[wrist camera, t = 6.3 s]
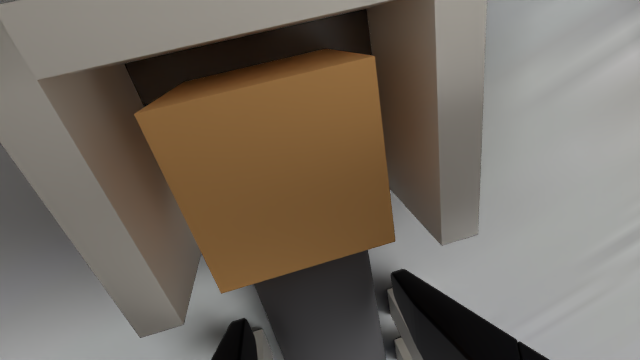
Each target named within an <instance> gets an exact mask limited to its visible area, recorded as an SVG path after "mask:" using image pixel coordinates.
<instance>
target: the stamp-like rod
mask: <svg viewBox="0 0 640 360" xmlns="http://www.w3.org/2000/svg"><path fill="white" fill-rule="evenodd" d="M134 115H135V118H136V120H137V122H138V124H139V126H140V128H141V130H142V132H143V134H144V136H145V138H146V140H147V142H148V144H149V146H150V148H151V150H152V152H153V154H154V157H155V159H156V161H157V163H158V165H159V167H160V169H161V171H162V173H163V175H164V177H165V179H166V181H167V183H168V185H169V187H170V189H171V191H172V193H173V196H174V198H175V200H176V202H177V204H178V206H179V208H180V210H181V212H182V214H183V216H184V218H185V220H186V222H187V224H188V226H189V228H190V230H191V232H192V235H193V237H194V239H195V241H196V243H197V245H198V247H199V249H200V251H201V253H202V255H203V257H204V259H205V261H206V263H207V265H208V267H209V269H210V271H211V274H212V276H213V278H214V280H215V282H216V284H217V286H218V288H219V290H220V292H221V294H222V293H225V292H228V291H232V290H235V289H238V288H242V287H245V286H248V285H252V284H254V285H255V288H256V290H257V292H258V295H259V297H260V300H261V302H262V305H263V307H264V309H265V312H266V314H267V317H268V319H269V322H270V324H271V327H272V329H273V331H274V334H275V336H276V339H277V341H278V344H279V346H280V348H281V351H282V353H283V356H284V358H285V360H386V357H385V351H384V345H383V339H382V333H381V327H380V321H379V315H378V309H377V303H376V297H375V291H374V285H373V279H372V273H371V267H370V261H369V255H368V249H372V248H375V247H378V246H382V245H385V244H388V243H392V242H395V233H394V224H393V215H392V206H391V197H390V188H389V179H388V170H387V161H386V152H385V143H384V134H383V125H382V116H381V107H380V98H379V89H378V80H377V71H376V62H375V56H372V55H365V54H359V53H352V52H346V51H339V50H333V49H321V50H317V51H313V52H309V53H304V54H300V55H296V56H292V57H287V58H283V59H279V60H275V61H270V62H266V63H262V64H258V65H253V66H249V67H245V68H241V69H236V70H232V71H228V72H224V73H219V74H215V75H211V76H207V77H202V78H198V79H194V80H190V81H185V82H183V83H181V84H180V85H178V86H176V87H175V88H173V89H172V90H170V91H169V92H167V93H166V94H164V95H163V96H161V97H159V98H158V99H156V100H155V101H153V102H152V103H150V104H149V105H147V106H145V107H144V108H142V109H141V110H139V111H138V112H136V113H135V114H134Z"/></svg>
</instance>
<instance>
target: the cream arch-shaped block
mask: <svg viewBox="0 0 640 360" xmlns="http://www.w3.org/2000/svg"><path fill="white" fill-rule="evenodd" d="M363 9H367V17H368V25H369V34H370V42H371V50H372V56H375V62H376V71H377V80H378V89H379V98H380V107H381V116H382V125H383V134H384V143H385V152H386V161H387V170H388V179H389V188H390V190H391V191H392V192H393V193H394V194H395V195H396V196H397V197H398V198H399V199H400V201H401V202H402V203H403V204H404V205H405V206H406V207H407V208H408V209H409V210H410V212H411V213H412V214H413V215H414V216H415V217H416V218H417V219H418V220H419V221H420V222H421V224H422V225H423V226H424V227H425V228H426V229H427V230H428V231H429V232H430V233H431V234H432V236H433V237H434V238H435V239H436V240H437V241H438V242H439V243H440V244H441V245H442V246H443V245H446V244H449V243H453V242H456V241H459V240H462V239H466V238H469V237H472V236H475V235H478V226H479V200H480V174H481V147H482V121H483V94H484V68H485V42H486V15H487V0H18V1H13V2H8V3H3V4H0V143H1V144H2V146H3V147H4V148H5V150H6V151H7V153H8V154H9V155H10V157H11V158H12V160H13V161H14V162H15V164H16V165H17V167H18V168H19V169H20V171H21V172H22V174H23V175H24V176H25V178H26V179H27V181H28V182H29V183H30V185H31V186H32V188H33V189H34V190H35V192H36V193H37V195H38V196H39V197H40V199H41V200H42V202H43V203H44V204H45V206H46V207H47V209H48V210H49V211H50V213H51V214H52V215H53V217H54V218H55V220H56V221H57V222H58V224H59V225H60V227H61V228H62V229H63V231H64V232H65V234H66V235H67V236H68V238H69V239H70V241H71V242H72V243H73V245H74V246H75V248H76V249H77V250H78V252H79V253H80V255H81V256H82V257H83V259H84V260H85V262H86V263H87V264H88V266H89V267H90V269H91V270H92V271H93V273H94V274H95V276H96V277H97V278H98V280H99V281H100V283H101V284H102V285H103V287H104V288H105V290H106V291H107V292H108V294H109V295H110V296H111V298H112V299H113V301H114V302H115V303H116V305H117V306H118V308H119V309H120V310H121V312H122V313H123V315H124V316H125V317H126V319H127V320H128V322H129V323H130V324H131V326H132V327H133V329H134V330H135V331H136V333H137V334H138V336H139V337H140V338H142V337H145V336H149V335H152V334H155V333H158V332H162V331H165V330H168V329H171V328H175V327H178V326H181V325H184V321H185V317H186V313H187V309H188V305H189V301H190V297H191V293H192V289H193V285H194V281H195V276H196V272H197V268H198V264H199V260H200V256H201V251H200V249H199V247H198V245H197V243H196V241H195V239H194V237H193V235H192V232H191V230H190V228H189V226H188V224H187V222H186V220H185V218H184V216H183V214H182V212H181V210H180V208H179V206H178V204H177V202H176V200H175V198H174V196H173V193H172V191H171V189H170V187H169V185H168V183H167V181H166V179H165V177H164V175H163V173H162V171H161V169H160V167H159V165H158V163H157V161H156V159H155V157H154V154H153V152H152V150H151V148H150V146H149V144H148V142H147V140H146V138H145V136H144V134H143V132H142V130H141V128H140V126H139V124H138V122H137V120H136V118H135V115H134V114H135V113H136V112H138V111H139V110H141V109H142V108H144V106H143V104H142V102H141V99H140V97H139V95H138V93H137V91H136V89H135V86H134V84H133V82H132V80H131V78H130V76H129V74H128V71H127V69H126V67H125V65H124V64H125V63H129V62H134V61H138V60H143V59H147V58H151V57H156V56H160V55H165V54H169V53H174V52H178V51H182V50H187V49H191V48H196V47H200V46H204V45H209V44H213V43H218V42H222V41H226V40H231V39H235V38H240V37H244V36H248V35H253V34H257V33H262V32H266V31H270V30H275V29H279V28H284V27H288V26H292V25H297V24H301V23H306V22H310V21H314V20H319V19H323V18H328V17H332V16H336V15H341V14H345V13H350V12H354V11H358V10H363Z"/></svg>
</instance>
